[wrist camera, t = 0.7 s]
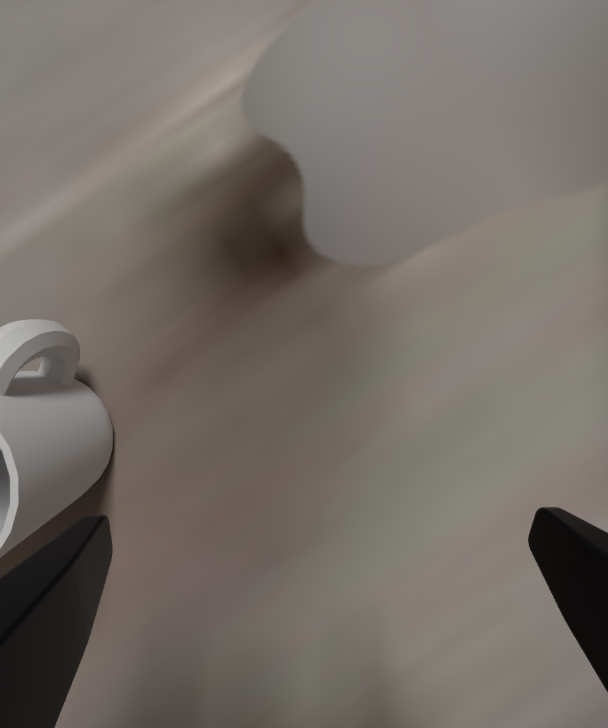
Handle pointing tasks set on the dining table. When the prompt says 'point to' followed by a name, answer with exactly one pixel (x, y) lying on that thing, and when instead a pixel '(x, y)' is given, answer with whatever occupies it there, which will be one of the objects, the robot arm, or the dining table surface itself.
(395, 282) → the dining table surface
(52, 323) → the cup
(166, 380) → the dining table surface
